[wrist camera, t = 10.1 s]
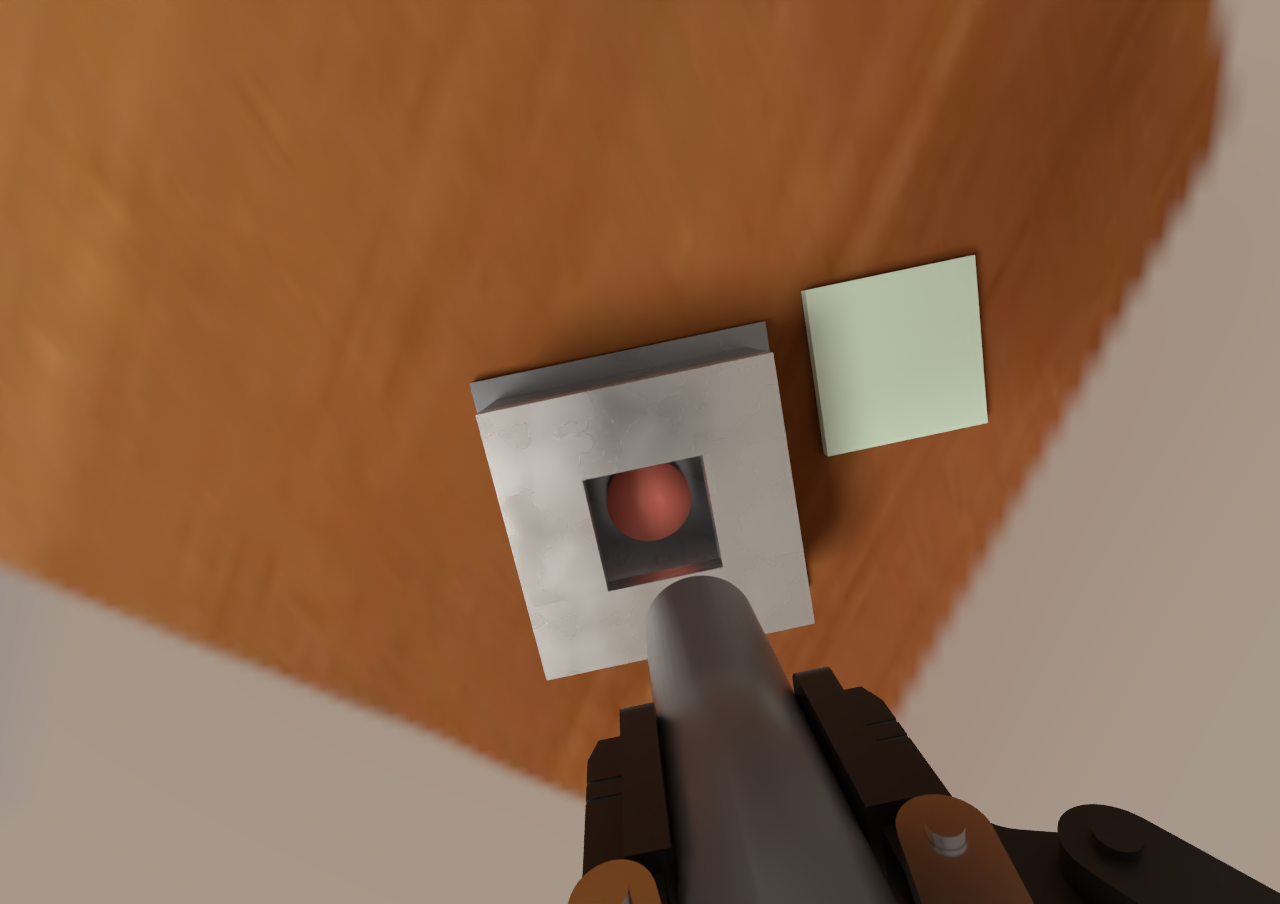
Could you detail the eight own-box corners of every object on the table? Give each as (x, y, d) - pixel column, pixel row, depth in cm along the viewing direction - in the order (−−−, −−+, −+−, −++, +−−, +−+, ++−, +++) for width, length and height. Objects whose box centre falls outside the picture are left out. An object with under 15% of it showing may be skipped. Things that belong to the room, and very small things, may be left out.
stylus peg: (655, 686, 17) (766, 1535, 5) (633, 588, 16) (704, 1303, 4) (762, 664, 17) (1115, 1455, 5) (745, 564, 16) (1108, 1213, 4)
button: (615, 542, 30) (616, 548, 29) (598, 465, 29) (598, 469, 28) (695, 525, 30) (698, 531, 29) (680, 448, 29) (682, 451, 28)
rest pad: (823, 454, 30) (827, 456, 30) (800, 291, 28) (804, 290, 28) (980, 420, 30) (987, 422, 30) (967, 256, 28) (975, 254, 28)
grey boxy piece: (541, 645, 32) (530, 704, 27) (471, 382, 29) (443, 395, 24) (804, 589, 32) (839, 638, 27) (762, 321, 29) (794, 321, 24)
